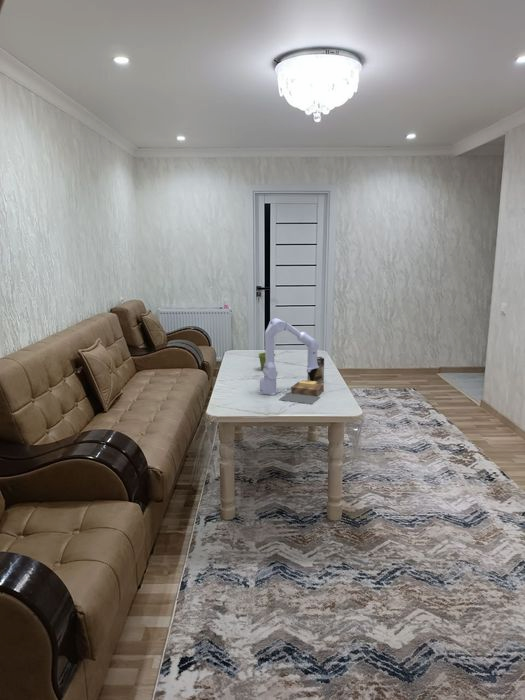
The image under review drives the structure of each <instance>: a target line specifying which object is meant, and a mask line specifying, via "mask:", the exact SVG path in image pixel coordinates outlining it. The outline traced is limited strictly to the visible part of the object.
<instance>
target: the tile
mask: <svg viewBox="0 0 525 700" xmlns="http://www.w3.org/2000/svg"><path fill="white" fill-rule="evenodd" d="M298 382H299V386H304V387H313V388H314V387H315V386H316V385H317V381H307V379H302V380H301V381H298Z"/></svg>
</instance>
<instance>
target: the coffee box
mask: <svg viewBox="0 0 525 700" xmlns="http://www.w3.org/2000/svg"><path fill="white" fill-rule="evenodd" d="M317 364H318V366H319V368H315V369H318V371H317V372H316V375H315V380H314V381H317V384H322V383H323V384H325V381H324V380H325V379H324V378H325V358H324V357H323V356H317ZM306 380H307V381H310V378H309V374H308V373H307V377H306Z"/></svg>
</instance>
